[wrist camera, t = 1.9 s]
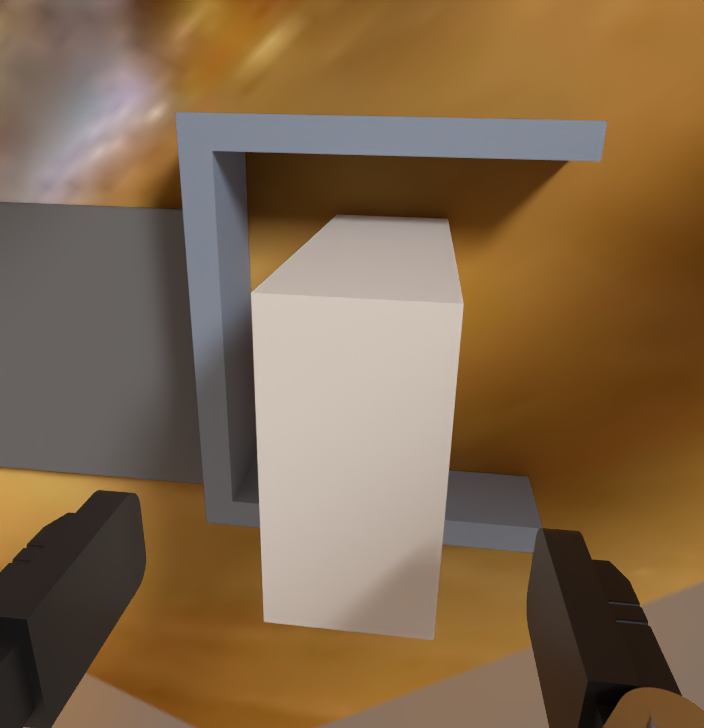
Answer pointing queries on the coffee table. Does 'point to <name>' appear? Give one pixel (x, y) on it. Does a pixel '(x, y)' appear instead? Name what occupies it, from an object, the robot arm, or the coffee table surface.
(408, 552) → the packed carton
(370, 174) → the coffee table surface
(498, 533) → the frame
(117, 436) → the rubber pad
